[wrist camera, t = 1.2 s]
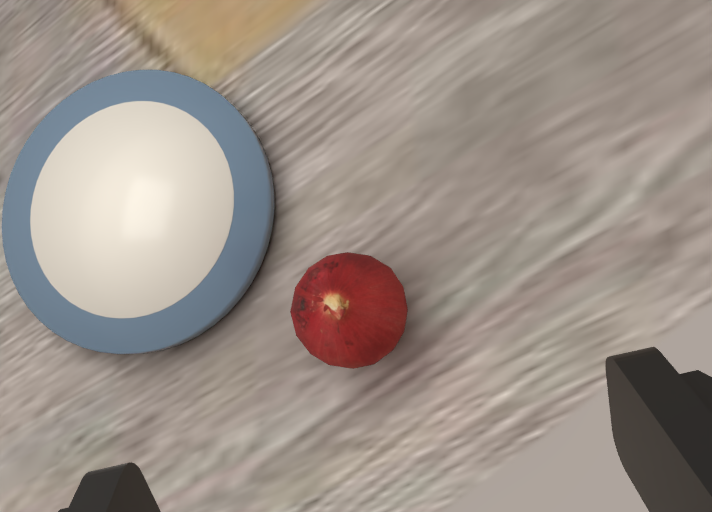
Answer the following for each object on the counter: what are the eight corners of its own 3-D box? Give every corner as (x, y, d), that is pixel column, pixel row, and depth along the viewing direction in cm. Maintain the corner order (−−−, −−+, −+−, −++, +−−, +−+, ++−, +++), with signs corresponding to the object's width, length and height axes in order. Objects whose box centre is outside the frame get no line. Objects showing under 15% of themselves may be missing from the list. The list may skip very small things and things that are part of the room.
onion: (304, 356, 38) (255, 356, 30) (322, 256, 39) (279, 230, 31) (405, 375, 37) (382, 379, 29) (422, 271, 37) (403, 248, 30)
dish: (204, 32, 42) (191, 17, 40) (326, 264, 38) (318, 260, 37) (-15, 169, 44) (-36, 160, 42) (81, 405, 40) (62, 407, 38)
